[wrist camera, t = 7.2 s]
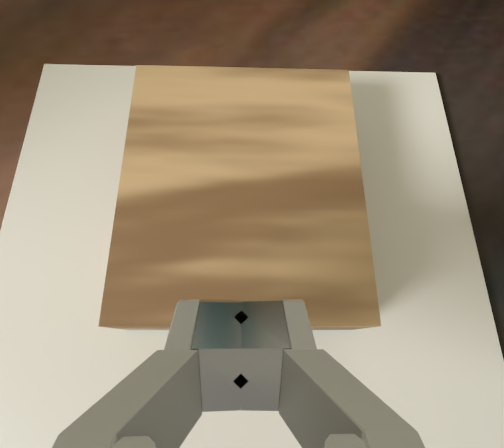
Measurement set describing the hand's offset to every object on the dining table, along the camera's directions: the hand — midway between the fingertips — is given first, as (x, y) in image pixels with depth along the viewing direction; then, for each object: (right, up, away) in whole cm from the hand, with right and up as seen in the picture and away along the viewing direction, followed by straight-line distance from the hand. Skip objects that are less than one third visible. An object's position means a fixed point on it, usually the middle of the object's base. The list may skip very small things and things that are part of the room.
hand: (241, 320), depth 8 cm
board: (0, +1, +12) cm, 12 cm away
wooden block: (0, -3, +8) cm, 8 cm away
